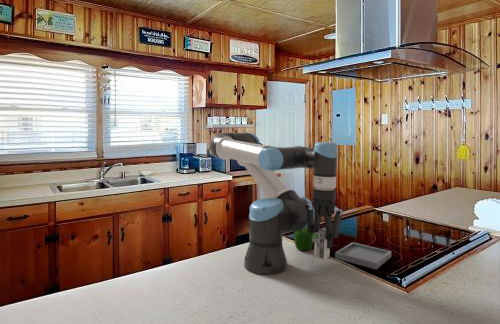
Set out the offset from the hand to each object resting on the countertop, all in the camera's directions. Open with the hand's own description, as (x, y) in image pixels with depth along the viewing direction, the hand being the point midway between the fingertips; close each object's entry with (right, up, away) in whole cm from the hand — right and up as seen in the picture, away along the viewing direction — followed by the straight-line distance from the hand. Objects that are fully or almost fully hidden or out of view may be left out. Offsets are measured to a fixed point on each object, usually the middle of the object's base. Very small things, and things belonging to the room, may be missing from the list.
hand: (321, 255), depth 113 cm
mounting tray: (+18, -4, +12) cm, 23 cm away
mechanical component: (0, -1, 0) cm, 1 cm away
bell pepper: (-3, -4, +21) cm, 22 cm away
